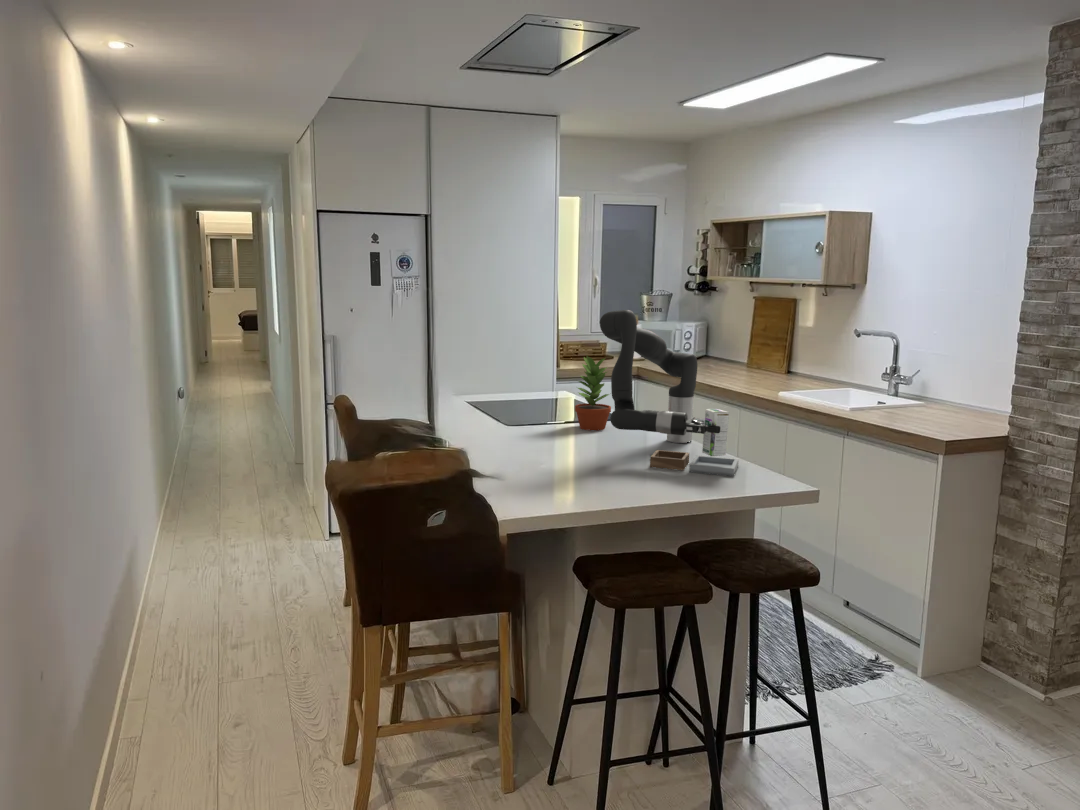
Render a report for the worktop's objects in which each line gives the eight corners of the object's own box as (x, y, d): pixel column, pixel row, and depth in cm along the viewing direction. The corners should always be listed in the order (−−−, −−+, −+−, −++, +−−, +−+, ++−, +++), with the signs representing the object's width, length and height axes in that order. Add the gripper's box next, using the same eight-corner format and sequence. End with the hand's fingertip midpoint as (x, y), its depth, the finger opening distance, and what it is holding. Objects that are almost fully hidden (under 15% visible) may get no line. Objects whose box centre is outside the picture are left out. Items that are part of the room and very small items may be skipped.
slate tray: (695, 462, 273) (696, 455, 273) (738, 466, 269) (738, 458, 268) (689, 472, 260) (689, 464, 260) (733, 476, 256) (734, 468, 255)
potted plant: (616, 426, 332) (618, 353, 327) (601, 433, 319) (604, 356, 313) (583, 422, 339) (585, 351, 333) (567, 429, 325) (569, 354, 320)
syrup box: (701, 452, 265) (704, 408, 262) (717, 451, 267) (720, 408, 264) (710, 456, 260) (713, 412, 257) (726, 455, 262) (729, 411, 259)
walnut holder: (656, 459, 276) (656, 449, 275) (688, 462, 272) (689, 452, 272) (649, 467, 266) (650, 456, 265) (683, 470, 262) (684, 459, 261)
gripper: (668, 415, 259) (720, 419, 254) (676, 408, 272) (725, 412, 267) (667, 438, 260) (718, 443, 255) (674, 430, 274) (723, 434, 268)
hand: (721, 427), depth 261 cm, fingers closed on syrup box, 8 cm apart
